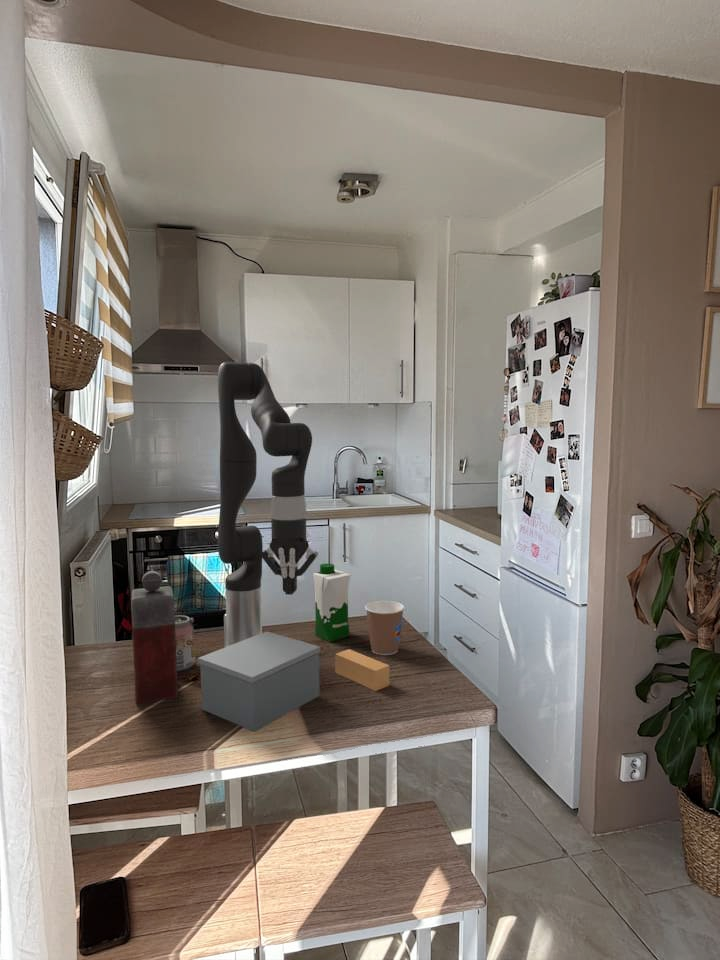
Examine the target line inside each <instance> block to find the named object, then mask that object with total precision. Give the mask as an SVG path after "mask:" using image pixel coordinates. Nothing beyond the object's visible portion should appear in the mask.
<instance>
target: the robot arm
mask: <svg viewBox="0 0 720 960" xmlns="http://www.w3.org/2000/svg"><path fill="white" fill-rule="evenodd" d="M272 389H273V388H272V387H271V385H270V382H269V380H268V377H267V375H266V373H265V371H264V370H263V368H262V367H261V366H260V365H259V364H257V363H255V362H254V363H253V362H235V361H233V362H230V361H229V362H228V361H227V362H222V363H221V364H220V366H219V368H218V373H217V393H218V395H217V396H218V406H219V407H218V408H219V421H220V422H219V423H220V425H219V426H220V427H219V429H220V437H219V439H220V440H219V441H220V442H219V443H220V444H219V449H220V450H219V487H220V488H219V492H220V494H219V495H220V496H219V497H220V499H219V501H220V502H219V503H220V505H219V516H218V517H219V519H218V529H217V530H218V531H217V551H218V555H219V556H218V557H219V558H220V561H221V562H222V563H223V564H227V565H229V564H238V563H242V565H241V566H240V567H239V568H238V569H236V570H235V571H233V572H231V573H230V574H228V575H227V576H226V578H225V580H224V581H225V583H224V584H225V585H224V586H225V587H224V588H225V614H224V615H223V628H224V629H223V631H224V648H225V647H228V646H230V645H233V644H235V643H238V642H240V641H243V640H246V639H248V638H251V637H253V636H256V635H258V634H261V633H263V624H262V623H263V620H262V612H263V611H262V575H263V561H264V562H265V563H266V565H267V566H268V567H269V569H270V570H271V571H272V573H273V574H274V575H275V576H277V575H278V576H280V577H281V578H282V590H283V592H284V593H285V595H294V594H295V592H296V591H297V589H298V577H301V576H303V574H305V573H306V571H307V570H308V569H309V568H310V566H311V565H312V564H313V563H314V561H315V560H316V558H318V555H319V552H317V551H314V550H312V549H311V548H310V545H309V542H308V540H307V539H308V538H307V504H306V503H307V502H306V495H305V489H306V488H305V477H306V476H305V475H306V469H307V466H308V460H309V456H310V453H311V450H312V445H313V435H312V432H311V429H310V427H309V426H308V425H307V424H306V423H301V422H291V418H290V416H289V414H288V412H287V411H286V410H285V409H284V408H283V407H282V406H281V405H282V404H280V403H279V402H278V400H277V398H276V397H275V394H274V392H273V390H272ZM252 400H253V402H252V405H251V407H250V412H251V413H250V414H251V417H252V420H253V422H254V423H255V424H256V427H258V429H259V430H260V434H261V438H262V439H261V441H262V442H261V443H262V446H263V447H262V448H263V450H264V451H265V453H266V454H268V455H269V456H272V457H277V458H278V457H291V459H290V461H289V462H288V463H287V464H286V465H284V466H280V467H277V468H275V469H273V470H272V473H271V502H270V503H271V504H270V507H271V508H270V515H271V516H270V517H271V520H270V523H271V525H270V527H271V529H270V530H271V540H270V543H269V547H268V548H266V549H265V550H264V549H263V547H264V546H263V536H262V533H261V530H260V529H259V527H258V526H256V525H243V526H237V525H236V523H237V518H238V514H239V510H240V509H241V506H242V504H243V503H244V501H245V499H246V498H247V496H248V495H249V493H250V491H251V489H252V488H253V486H254V484H255V482H256V478H257V460H258V459H257V451H256V448H255V446H254V444H253V443H252V441H251V439H250V438H249V436H248V434H247V433H246V431H245V429H244V428H243V426H242V425H241V423H240V421H239V419H238V416H237V411H236V405H235V404H236V403H235V401H252ZM274 555H275V557H276V558H275V557H274ZM304 555H305V559H306V560H305V561H304V563H302V565H301V567H300V568H299V564H300V563H299V562H300V560H301V559H302V558H303V556H304ZM277 559H278V561H279V563H278V561H277Z"/></svg>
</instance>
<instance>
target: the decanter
mask: <svg viewBox="0 0 720 960" xmlns="http://www.w3.org/2000/svg"><path fill="white" fill-rule="evenodd" d="M162 584H163V580H162V576H161V574H160V573H159V572H158V571H156V570H149V571H146V572H145V573H144V574H143V575H142V579H141V585H142V588H134V589H132V590H131V599H130V600H131V602H130V606H131V607H130V609H131V610H130V611H131V630H132V650H133V654H132V655H133V671H134V674H133V675H134V677H133V678H134V692H135V694H134V695H135V704H140V703H147V702H154V701H155V702H156V701H162V700H170V699H177V698H178V697H179V694H178V690H179V689H178V688H179V687H178V671H177V660H176V634H175V616H176V611H175V609H176V608H175V596H174V591H173V587H172V586H170V585H166V586H162Z"/></svg>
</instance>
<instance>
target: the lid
mask: <svg viewBox="0 0 720 960" xmlns="http://www.w3.org/2000/svg"><path fill="white" fill-rule="evenodd" d="M320 652H321V646H320V645H315V644H312V643H308V642H305V641H302V640H298V639H295V638H291V637H287V636H284V635H281V634H277V633H274V632H271V631H264V632H262V633H261V634H258V635H256V636H253V637H251V638H248V639H246V640H243V641H240V642H238V643H235V644H233V645H230V646H228V647H225V646H224V647H223V648H221V649H218V650H214V651H212V652H210V653H207V654H205V655H202V656H199V657H198V658H197V663H198V664H199V665H200V664H201V665H204V666H207V667H209V668H212V669H215V670H218V671H220V672H223V673H226V674H229V675H231V676H234V677H237V678H240V679H242V680H245V681H248V682H251V683H254V682H256V681H258V680H260V679H263V678H265V677H267V676H269V675H271V674H273V673H276V672H278V671H280V670H282V669H284V668H286V667H288V666H291V665H293V664H295V663H297V662H299V661H301V660H304V659H306V658H308V657H310V656H312V655H314V654H316V653H319V654H320Z"/></svg>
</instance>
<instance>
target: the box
mask: <svg viewBox="0 0 720 960" xmlns="http://www.w3.org/2000/svg"><path fill="white" fill-rule="evenodd" d="M199 667H200V668H199V669H200V692H201V693H200V695H201V710H202V711H205V712H207V713H210V714H211V715H214V716H217V717H219V718H222V719H223V720H226V721H228V722H230V723H233V724H235V725H238V726H240V727H242V728H245V729H247V730H249V731H252V732H256V731H257V730H259V729H261V728H263V727H264V726H267V725H269V724H270V723H272V722H274V721H276V720H278V719H279V718H282V717H283V716H285V715H287V714H289V713H291V712H293V711H294V710H297V709H298V708H300V707H302V706H303V705H305V704H307V703H309V702H311V701H313V700H315V699H316V698H319V697H320V652H319V653H316V654H314V655H312V656H310V657H308V658H306V659H304V660H301V661H299V662H297V663H295V664H293V665H291V666H288V667H286V668H284V669H282V670H280V671H278V672H276V673H273V674H271V675H269V676H267V677H265V678H263V679H260V680H258V681H256V682H254V683H251V682H248V681H245V680H242V679H240V678H237V677H234V676H231V675H229V674H226V673H223V672H220V671H218V670H215V669H212V668H209V667H207V666H204V665H201V664H199Z"/></svg>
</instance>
